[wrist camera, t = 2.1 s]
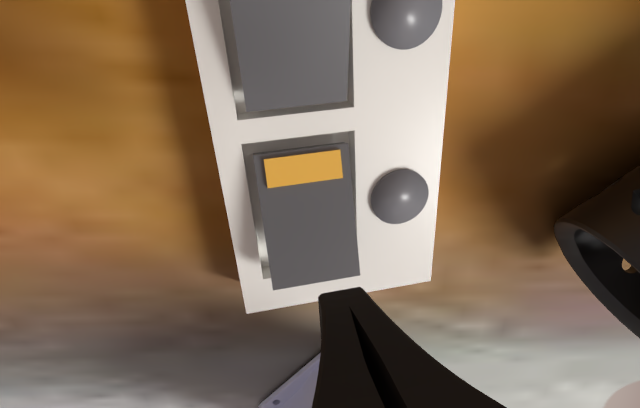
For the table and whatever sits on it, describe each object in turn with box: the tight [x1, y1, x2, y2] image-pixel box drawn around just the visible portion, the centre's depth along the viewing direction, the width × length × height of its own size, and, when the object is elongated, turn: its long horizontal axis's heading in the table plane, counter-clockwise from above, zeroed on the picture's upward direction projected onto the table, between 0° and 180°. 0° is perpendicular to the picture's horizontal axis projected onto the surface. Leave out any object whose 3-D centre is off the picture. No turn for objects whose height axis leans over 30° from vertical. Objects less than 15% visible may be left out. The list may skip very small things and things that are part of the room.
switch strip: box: [185, 0, 455, 314], centre depth 16 cm, size 27×10×3 cm, turn 4°
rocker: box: [253, 142, 360, 290], centre depth 18 cm, size 6×4×1 cm, turn 3°
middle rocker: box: [230, 0, 351, 112], centre depth 14 cm, size 6×4×1 cm, turn 4°
